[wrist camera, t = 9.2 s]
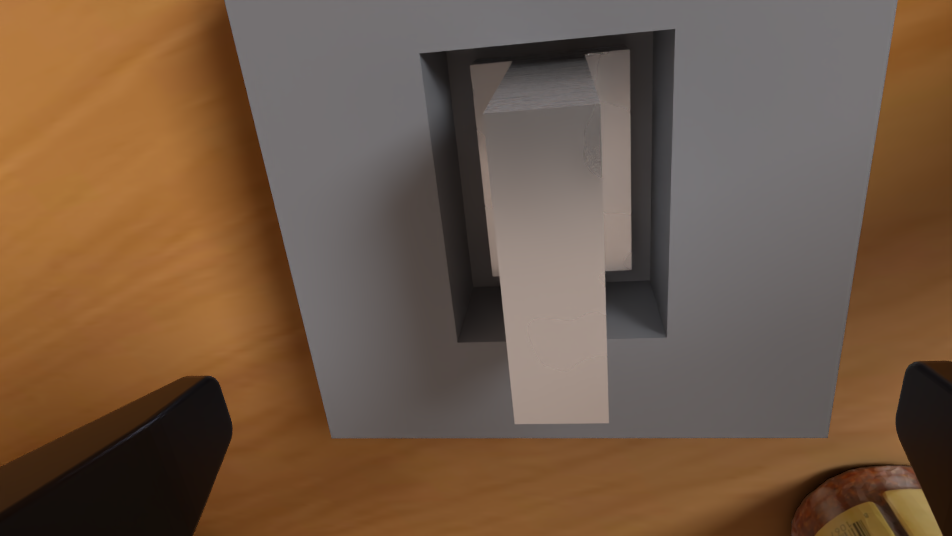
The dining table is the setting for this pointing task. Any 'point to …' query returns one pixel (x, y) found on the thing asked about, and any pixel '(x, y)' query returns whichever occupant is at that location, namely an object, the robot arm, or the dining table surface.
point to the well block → (652, 205)
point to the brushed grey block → (556, 218)
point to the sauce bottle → (867, 505)
